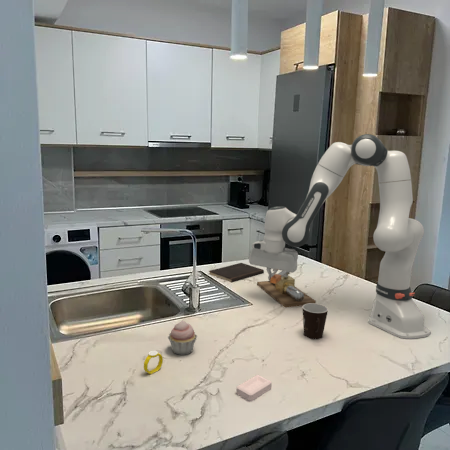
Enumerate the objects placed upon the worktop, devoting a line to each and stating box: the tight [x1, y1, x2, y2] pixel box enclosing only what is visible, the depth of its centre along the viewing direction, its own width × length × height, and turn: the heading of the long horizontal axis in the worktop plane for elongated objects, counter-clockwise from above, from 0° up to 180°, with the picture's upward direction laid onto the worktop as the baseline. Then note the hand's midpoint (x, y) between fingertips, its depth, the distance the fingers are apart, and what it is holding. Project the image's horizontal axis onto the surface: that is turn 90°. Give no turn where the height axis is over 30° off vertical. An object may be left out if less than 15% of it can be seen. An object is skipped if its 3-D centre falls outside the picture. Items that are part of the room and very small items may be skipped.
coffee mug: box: [302, 303, 329, 340], centre depth 148 cm, size 12×9×10 cm
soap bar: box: [235, 374, 272, 402], centre depth 116 cm, size 5×9×2 cm, turn 136°
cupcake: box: [167, 320, 198, 356], centre depth 136 cm, size 9×9×10 cm
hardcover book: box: [208, 262, 265, 283], centre depth 216 cm, size 16×23×2 cm
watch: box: [143, 350, 164, 375], centre depth 124 cm, size 6×3×6 cm, turn 139°
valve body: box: [267, 272, 304, 302], centre depth 188 cm, size 26×6×8 cm, turn 19°
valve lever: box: [270, 270, 291, 284], centre depth 181 cm, size 17×3×2 cm, turn 152°
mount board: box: [256, 280, 317, 308], centre depth 189 cm, size 28×14×2 cm, turn 19°
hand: (271, 278), depth 179 cm, fingers closed
